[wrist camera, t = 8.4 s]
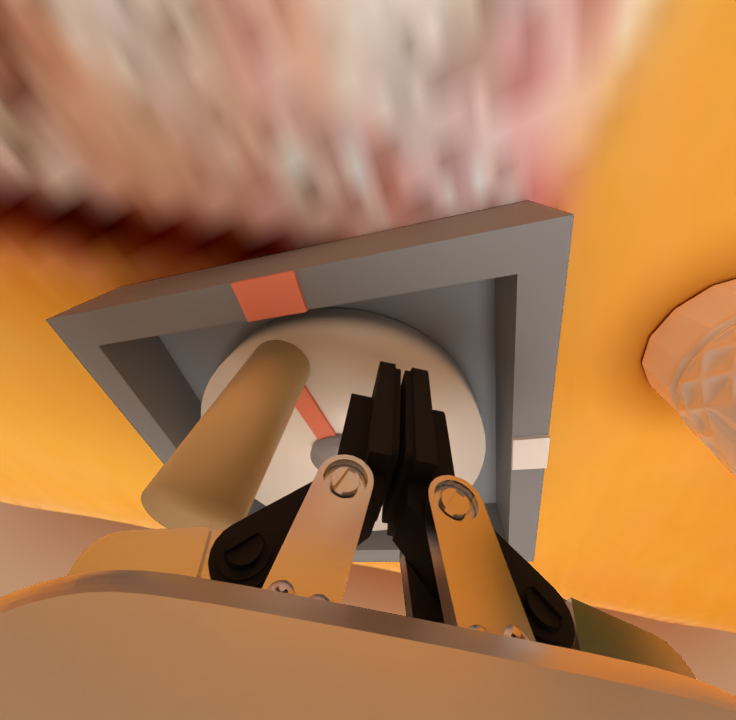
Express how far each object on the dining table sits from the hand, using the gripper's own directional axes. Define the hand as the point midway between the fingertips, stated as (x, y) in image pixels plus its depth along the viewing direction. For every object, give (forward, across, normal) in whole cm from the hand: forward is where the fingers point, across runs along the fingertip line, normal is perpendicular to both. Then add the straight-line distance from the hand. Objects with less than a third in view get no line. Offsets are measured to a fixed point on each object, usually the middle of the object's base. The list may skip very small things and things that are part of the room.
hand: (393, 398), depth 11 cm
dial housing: (+6, +2, +6) cm, 9 cm away
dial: (+5, +2, +6) cm, 8 cm away
